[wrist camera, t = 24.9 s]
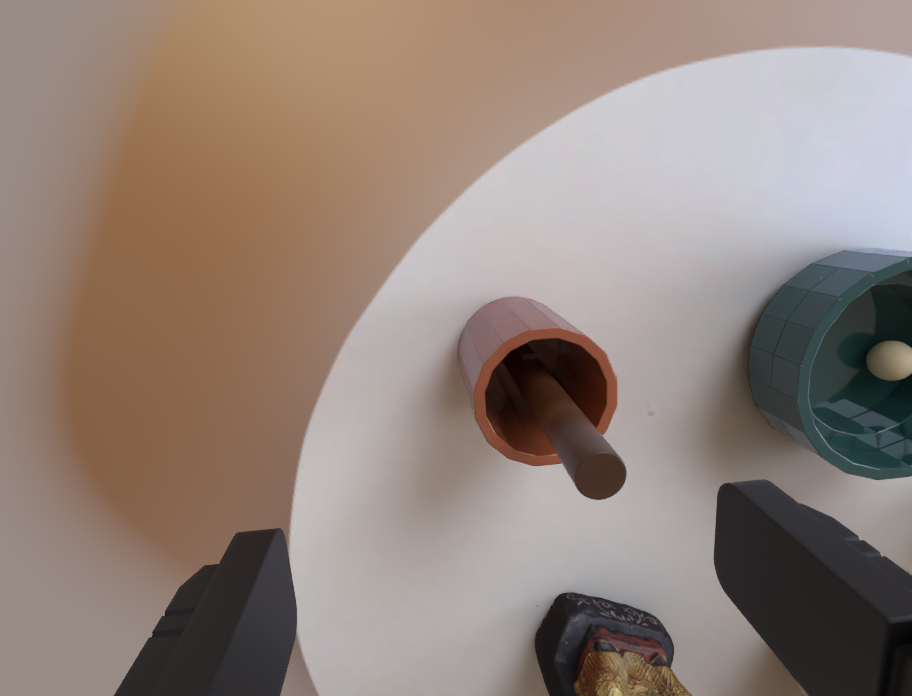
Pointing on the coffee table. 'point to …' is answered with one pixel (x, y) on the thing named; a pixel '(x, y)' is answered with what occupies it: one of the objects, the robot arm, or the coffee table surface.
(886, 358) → the dough ball
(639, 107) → the coffee table surface
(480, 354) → the crock
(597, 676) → the statue
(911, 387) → the bowl
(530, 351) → the stick
